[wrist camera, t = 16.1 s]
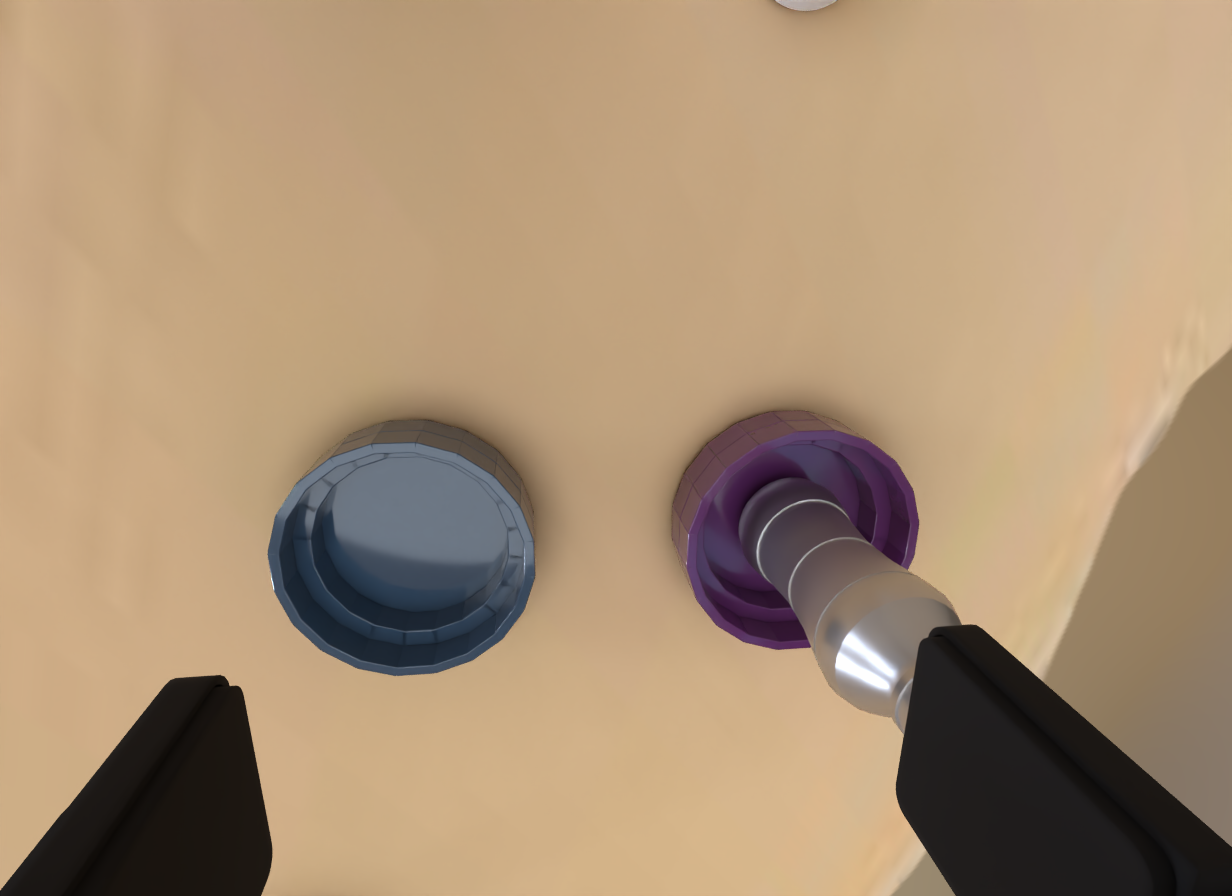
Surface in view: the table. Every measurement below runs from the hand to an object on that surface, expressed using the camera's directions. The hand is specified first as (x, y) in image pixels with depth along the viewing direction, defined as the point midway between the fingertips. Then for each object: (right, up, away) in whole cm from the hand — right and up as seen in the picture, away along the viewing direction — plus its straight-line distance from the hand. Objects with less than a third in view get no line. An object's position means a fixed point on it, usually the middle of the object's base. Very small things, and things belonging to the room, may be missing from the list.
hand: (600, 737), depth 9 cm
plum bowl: (+11, 0, +36) cm, 37 cm away
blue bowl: (-12, -1, +33) cm, 35 cm away
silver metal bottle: (+11, 0, +35) cm, 37 cm away
